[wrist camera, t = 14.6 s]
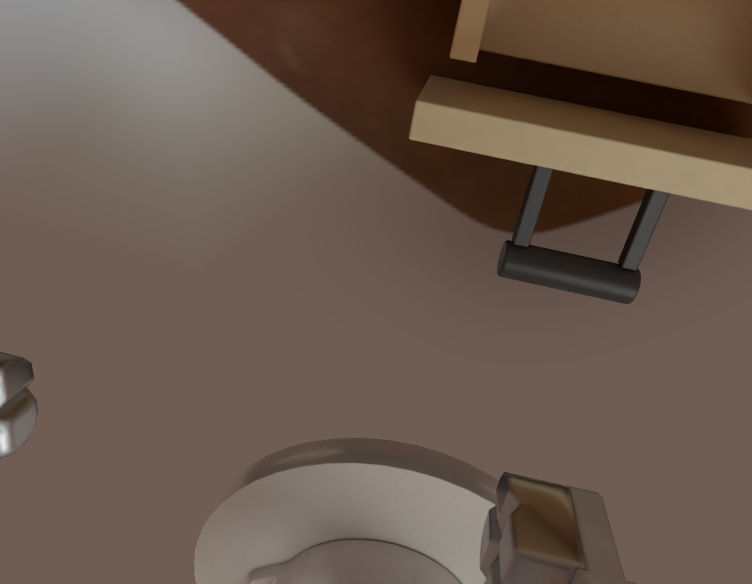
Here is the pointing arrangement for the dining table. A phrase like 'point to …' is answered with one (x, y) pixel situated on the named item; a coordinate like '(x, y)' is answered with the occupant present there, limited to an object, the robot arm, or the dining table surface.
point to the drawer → (598, 116)
